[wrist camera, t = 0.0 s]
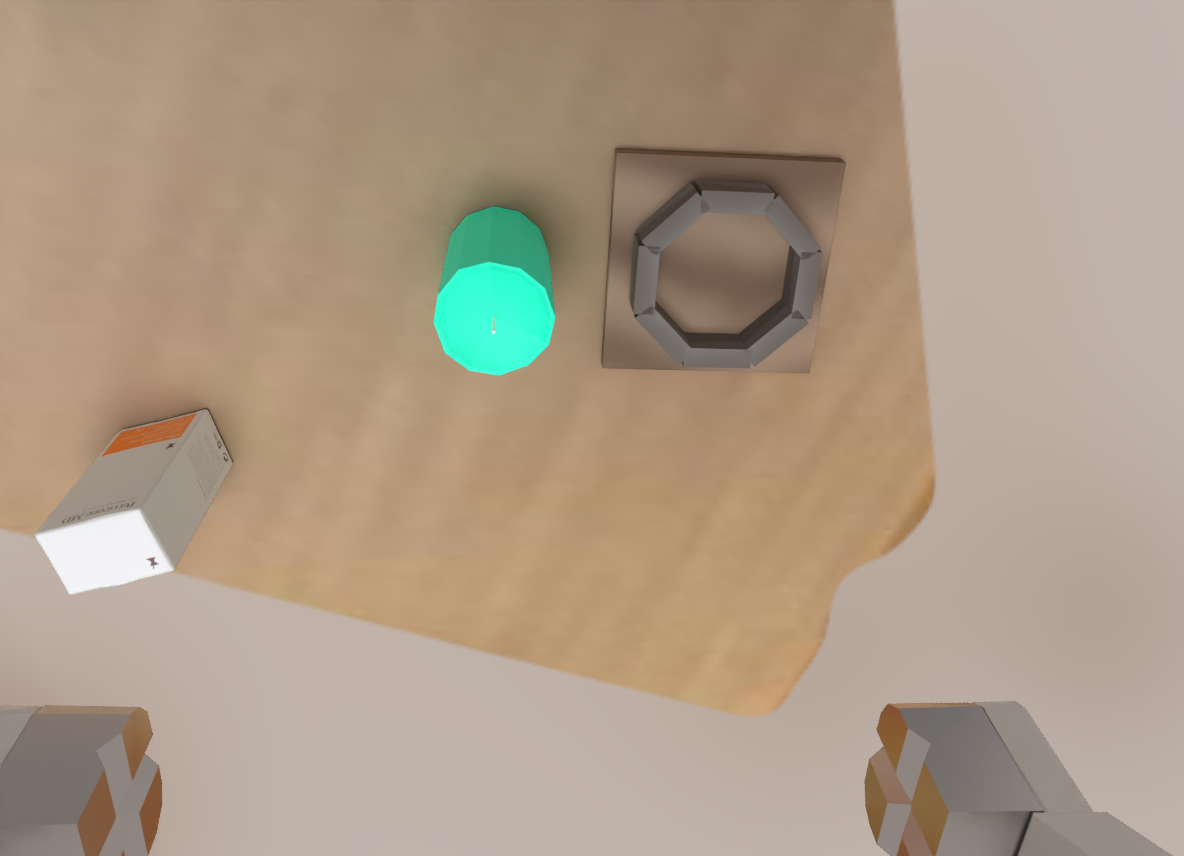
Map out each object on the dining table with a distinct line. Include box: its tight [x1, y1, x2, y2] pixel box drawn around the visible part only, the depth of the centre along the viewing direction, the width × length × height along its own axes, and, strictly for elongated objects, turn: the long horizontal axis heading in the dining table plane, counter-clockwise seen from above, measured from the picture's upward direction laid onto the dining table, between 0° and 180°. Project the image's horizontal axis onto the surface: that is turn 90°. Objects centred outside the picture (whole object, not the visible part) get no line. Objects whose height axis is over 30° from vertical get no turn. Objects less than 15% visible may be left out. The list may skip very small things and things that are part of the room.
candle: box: [434, 206, 555, 375], centre depth 52 cm, size 6×6×12 cm
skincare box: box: [35, 409, 233, 594], centre depth 57 cm, size 6×4×12 cm
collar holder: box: [601, 149, 846, 373], centre depth 57 cm, size 13×13×4 cm
